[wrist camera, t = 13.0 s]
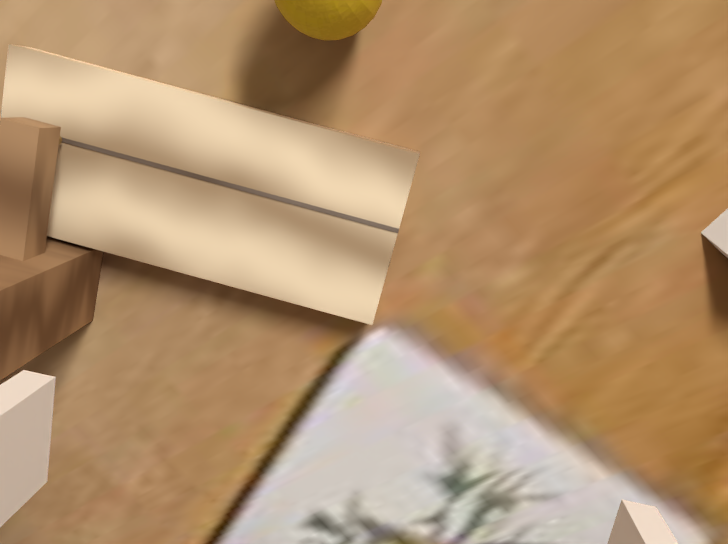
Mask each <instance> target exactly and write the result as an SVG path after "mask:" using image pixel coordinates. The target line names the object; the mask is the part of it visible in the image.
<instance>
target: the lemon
mask: <svg viewBox="0 0 728 544" xmlns="http://www.w3.org/2000/svg"><path fill="white" fill-rule="evenodd" d="M274 1H275V3H276V6H277V8H278V9H279V11H280V12H281V14H282V15H283V16H284V18H285V19H286V20H287V21H288V22H289V23H290V24H291V25H292V26H293V27H294V28H295V29H297V30H298V31H300V32H302V33H304V34H306V35H308V36H310V37H312V38H316V39H321V40H341V39H343V38H346V37H349V36H352V35H354V34H356V33H357V32H359V31H360V30H362V29H363V28H365V27H366V26H367V24H368V23H369V22H370V21H371V20H372V19H373V18H374V17H375V15H376V13H377V11H378V9H379V7H380V5H381V3H382V0H274Z"/></svg>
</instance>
